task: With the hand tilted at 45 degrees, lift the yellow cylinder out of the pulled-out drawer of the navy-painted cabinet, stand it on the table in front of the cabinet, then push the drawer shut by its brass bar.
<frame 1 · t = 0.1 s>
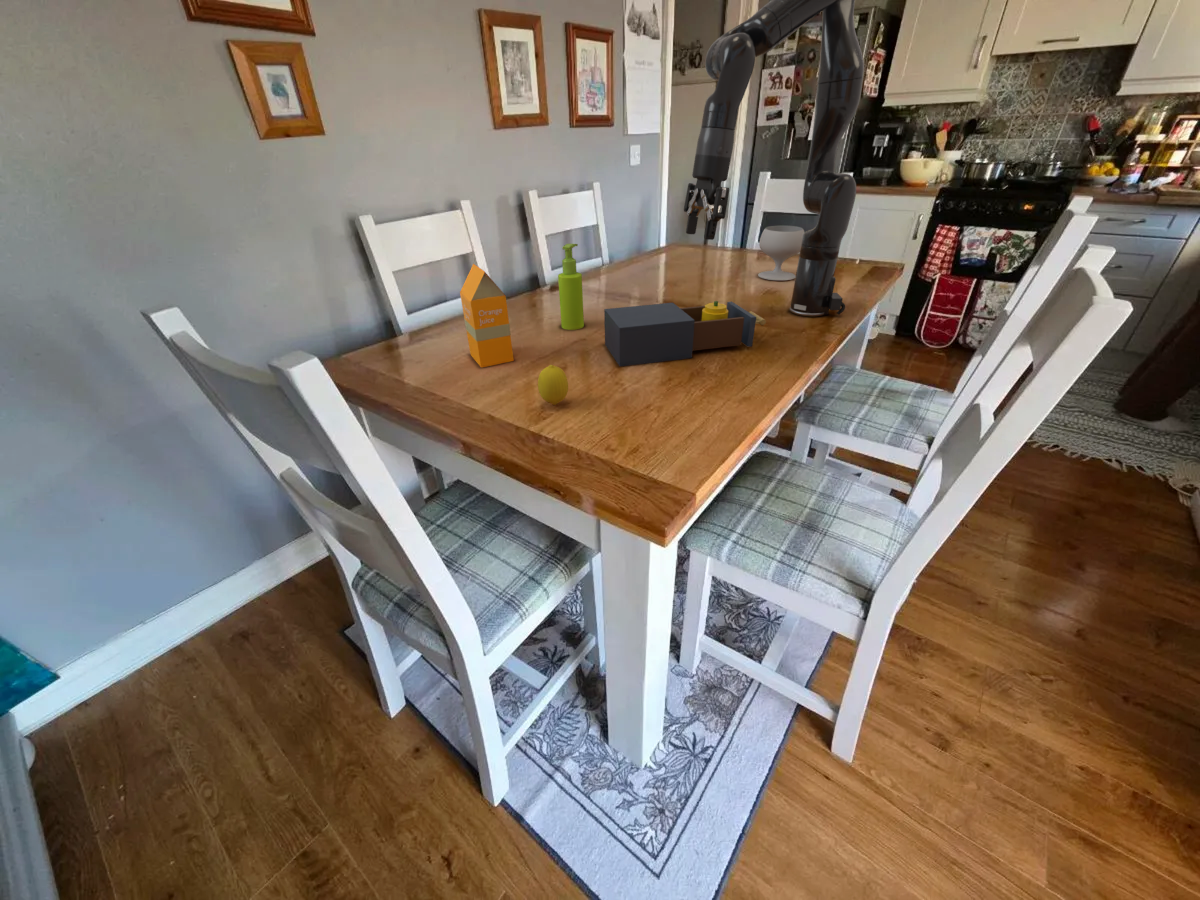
hand: (699, 236, 116), 22 cm above the table, tool pointing down, fingers open, 8 cm apart
lemon: (554, 405, 96), on the table
chalice: (776, 277, 171), on the table
orange juice: (492, 358, 117), on the table
drawer: (719, 325, 118), point 4 cm above the table, slide at 13.5 cm, touching yellow cylinder
yellow cylinder: (712, 335, 119), point 2 cm above the table, touching drawer
soap dispenser: (573, 326, 134), on the table
cabinet: (646, 351, 118), on the table
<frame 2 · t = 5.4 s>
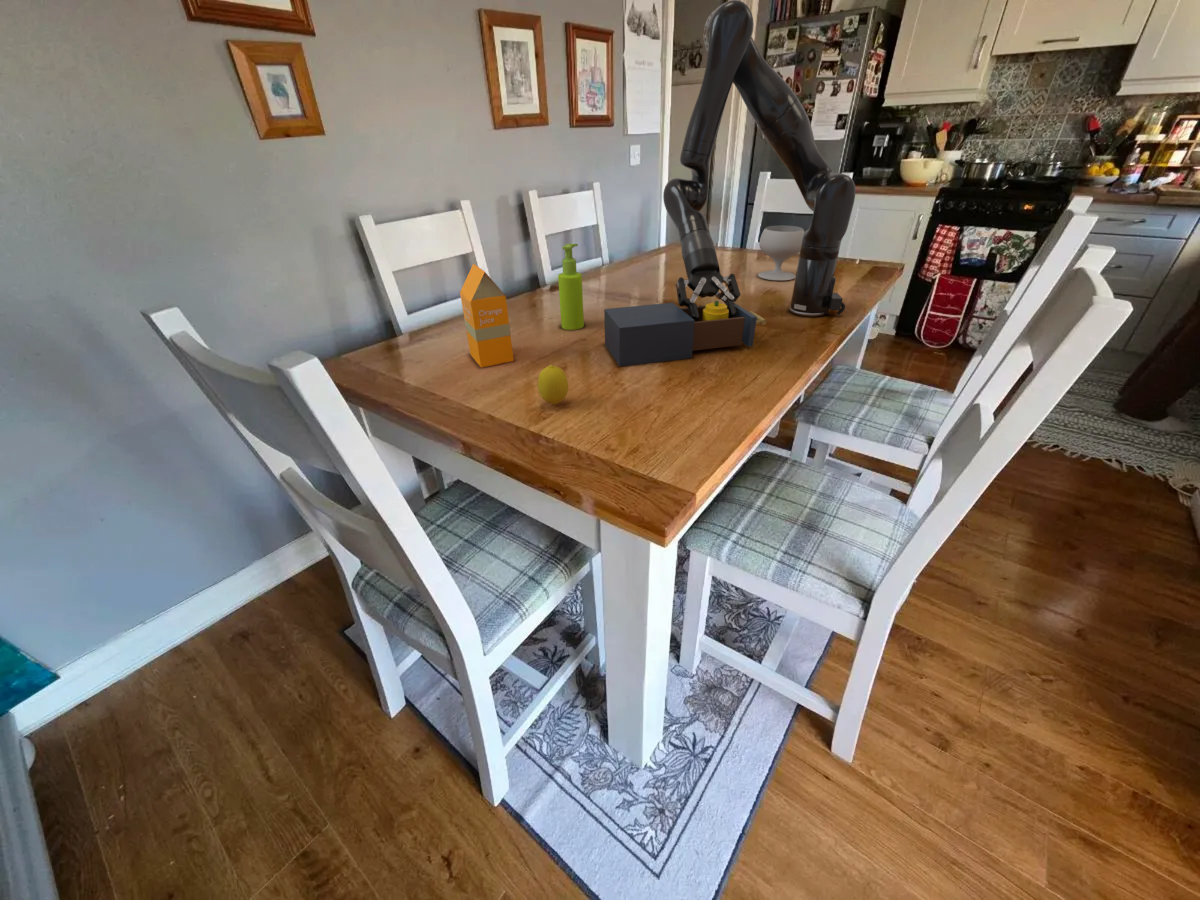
hand: (714, 318, 117), 6 cm above the table, tool tilted 45°, fingers open, 8 cm apart
nothing on the table moved.
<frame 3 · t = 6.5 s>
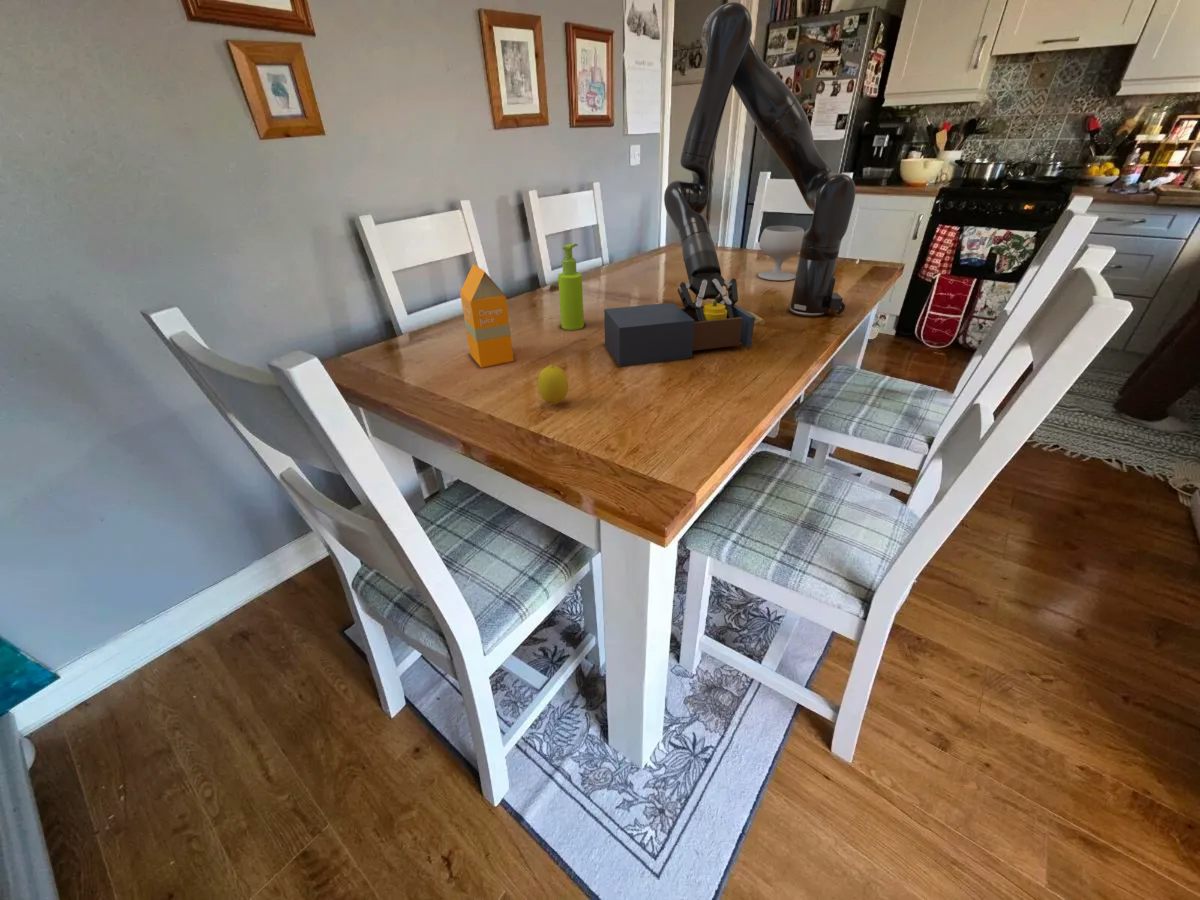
hand: (716, 323, 116), 5 cm above the table, tool tilted 45°, fingers closed on yellow cylinder, 6 cm apart
drawer: (718, 325, 118), point 4 cm above the table, slide at 13.2 cm, touching hand, yellow cylinder
yellow cylinder: (711, 335, 119), point 2 cm above the table, touching drawer, gripper
everything else where it was.
when the fingers open (3 cm above the table, at t = 15.1 s): yellow cylinder stays where it is, on the table.
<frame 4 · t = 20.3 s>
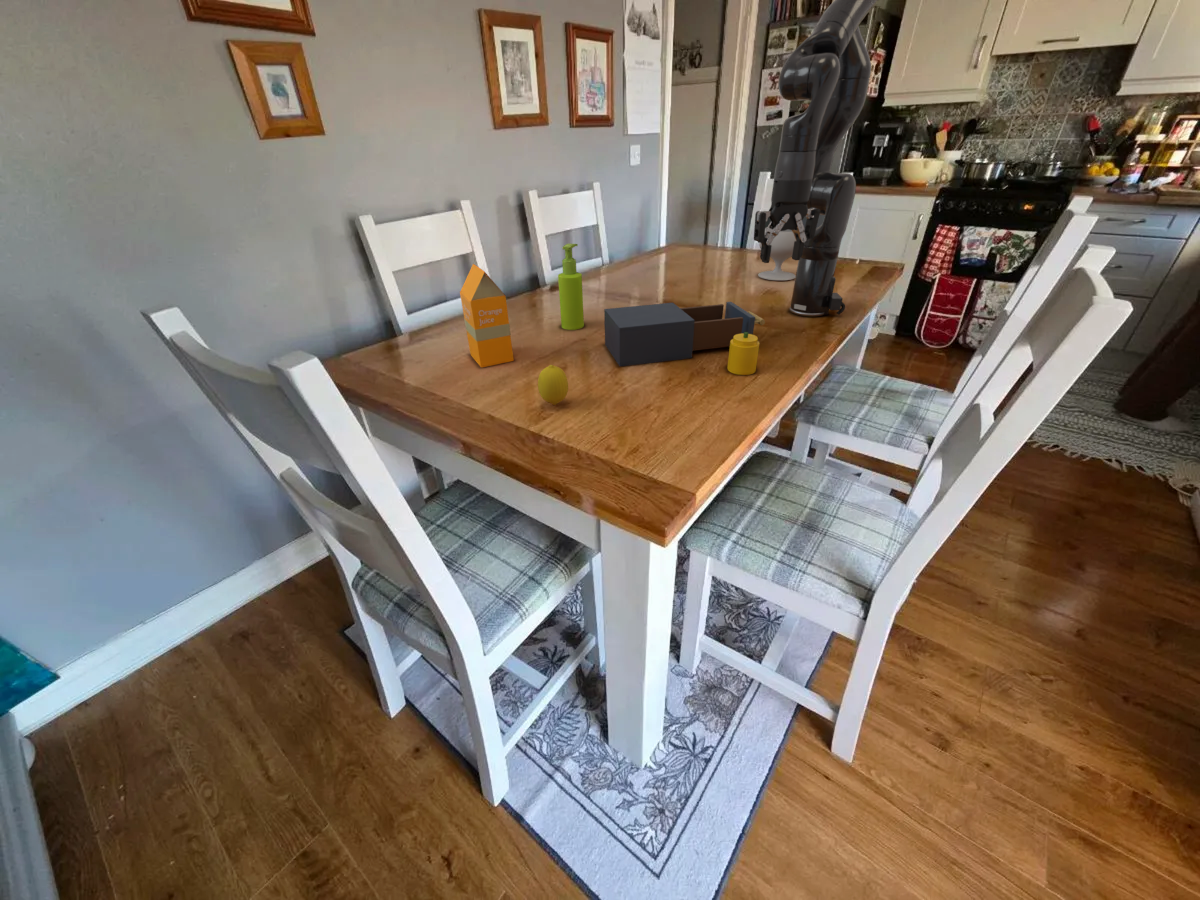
hand: (780, 260, 114), 18 cm above the table, tool pointing down, fingers open, 7 cm apart
drawer: (718, 325, 118), point 4 cm above the table, slide at 13.3 cm
yellow cylinder: (741, 369, 108), on the table
everything else where it was.
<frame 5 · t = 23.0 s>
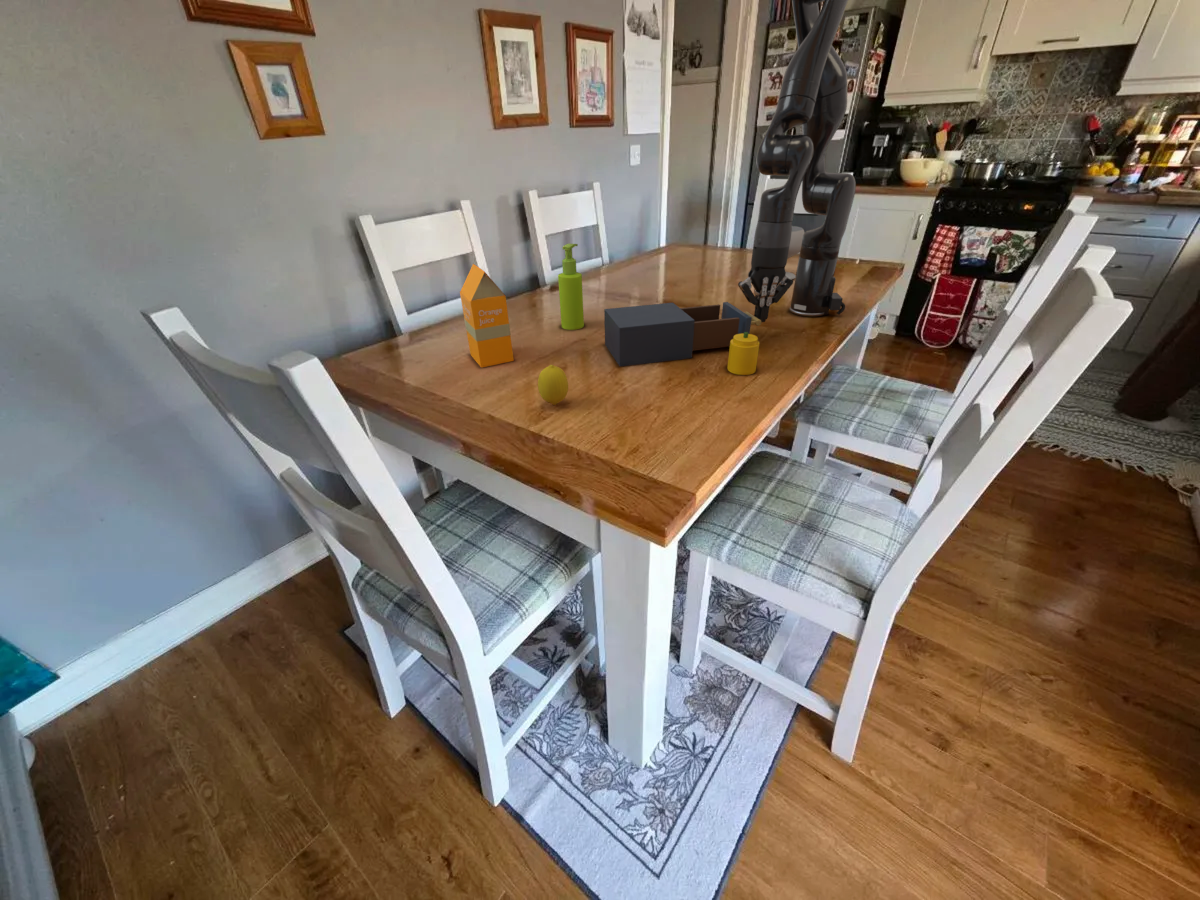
hand: (760, 321, 120), 4 cm above the table, tool pointing down, fingers closed
drawer: (715, 326, 118), point 4 cm above the table, slide at 12.4 cm, touching gripper
everything else where it was.
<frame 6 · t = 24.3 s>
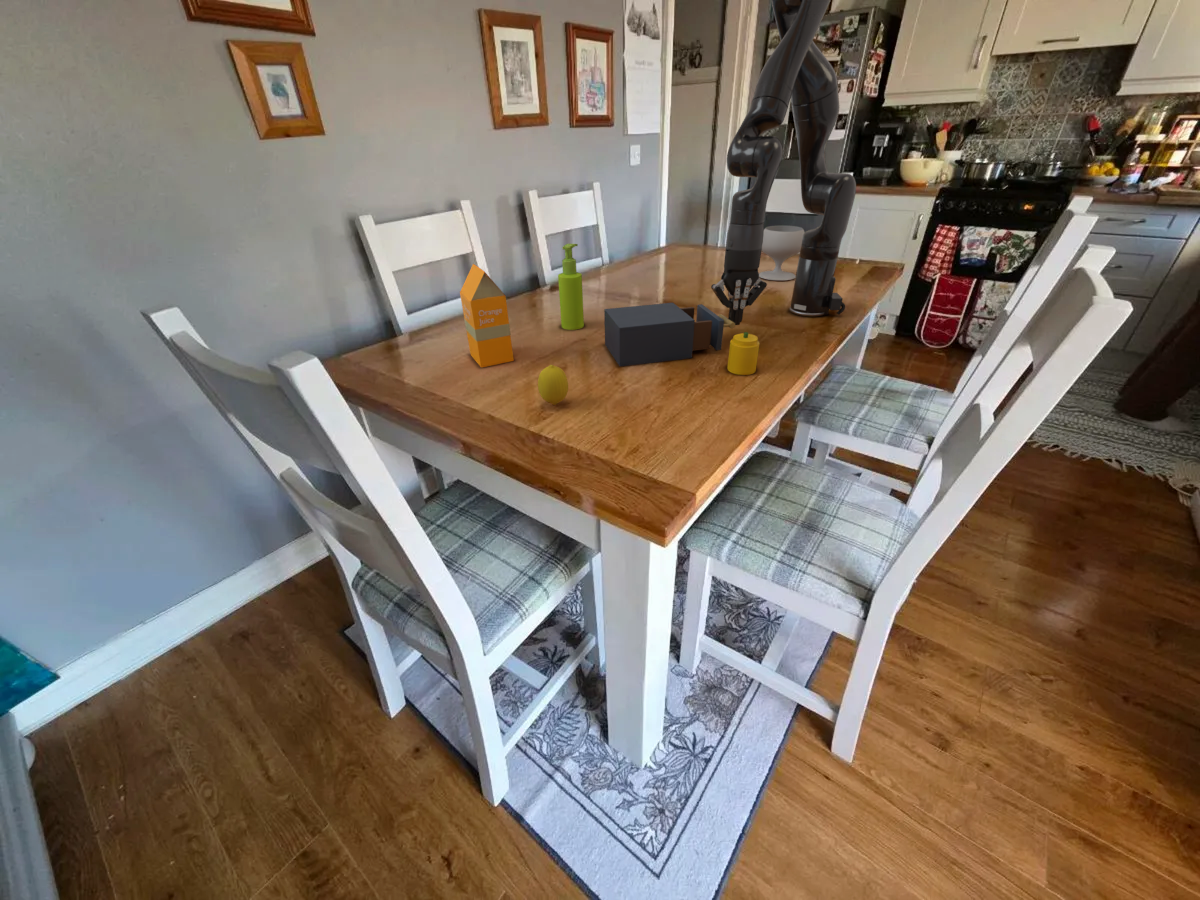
hand: (734, 324, 119), 4 cm above the table, tool pointing down, fingers closed
drawer: (688, 328, 117), point 4 cm above the table, slide at 5.9 cm, touching gripper
everything else where it was.
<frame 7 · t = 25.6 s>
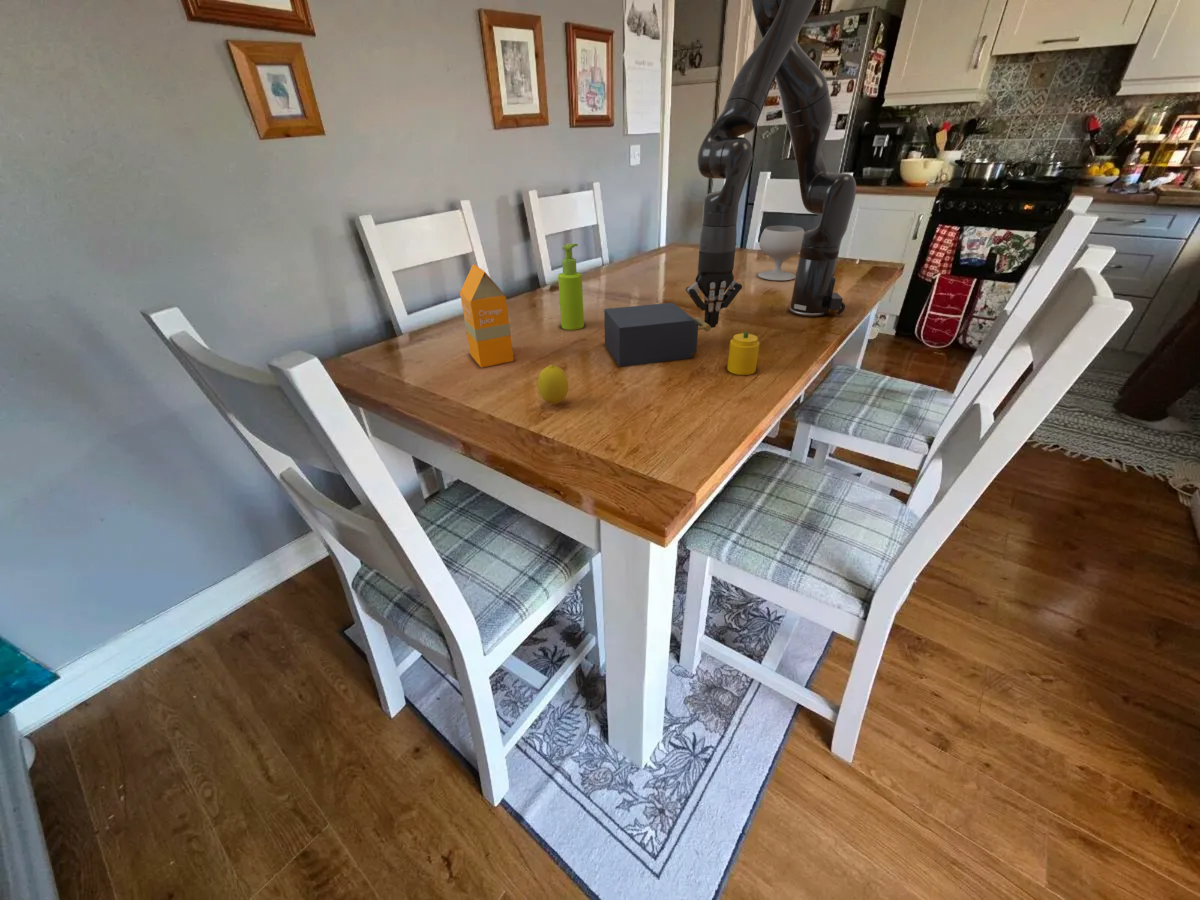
hand: (710, 326, 118), 4 cm above the table, tool pointing down, fingers closed
drawer: (663, 331, 116), point 4 cm above the table, slide at 0.0 cm, touching cabinet, gripper
everything else where it was.
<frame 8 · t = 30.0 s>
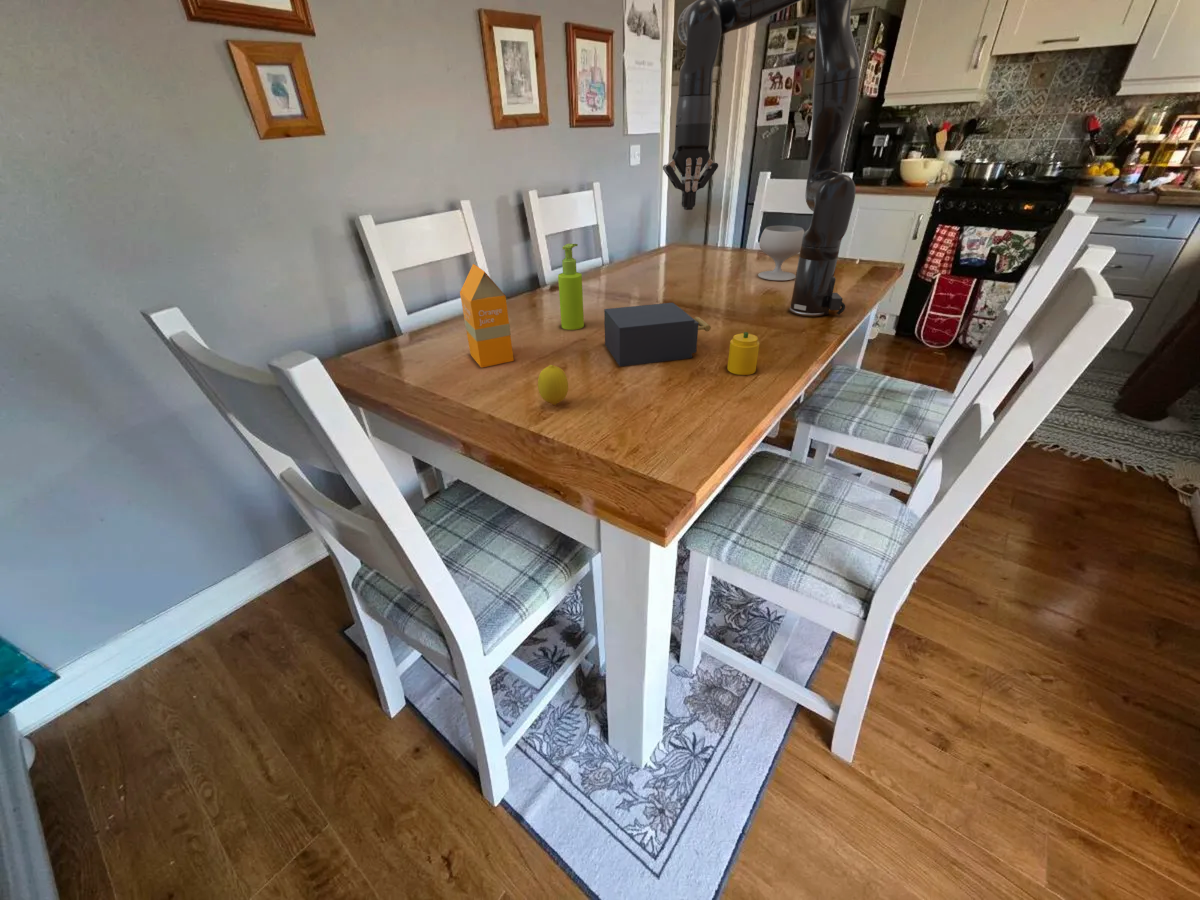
hand: (687, 209, 120), 27 cm above the table, tool pointing down, fingers closed
drawer: (663, 331, 116), point 4 cm above the table, slide at 0.0 cm
everything else where it was.
at the end: yellow cylinder inside the target area (0.1 cm from its centre), on the table; yellow cylinder tilted 0°; drawer slide at 0.0 cm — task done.
